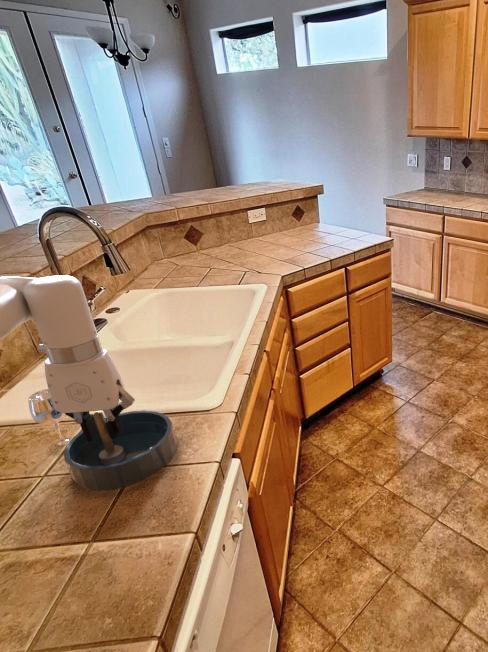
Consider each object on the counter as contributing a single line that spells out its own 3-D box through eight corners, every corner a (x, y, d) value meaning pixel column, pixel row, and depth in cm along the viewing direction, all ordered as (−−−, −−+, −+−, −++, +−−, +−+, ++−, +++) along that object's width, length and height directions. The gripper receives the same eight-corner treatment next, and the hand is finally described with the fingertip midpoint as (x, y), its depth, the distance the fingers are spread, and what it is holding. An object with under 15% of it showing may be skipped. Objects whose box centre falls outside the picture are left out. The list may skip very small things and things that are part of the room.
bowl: (53, 498, 75) (42, 474, 73) (100, 435, 91) (92, 414, 88) (160, 487, 78) (153, 464, 75) (188, 428, 93) (182, 407, 91)
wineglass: (39, 450, 86) (17, 399, 81) (67, 433, 91) (48, 384, 86) (60, 456, 85) (38, 405, 79) (87, 438, 90) (69, 390, 84)
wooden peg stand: (97, 466, 81) (79, 419, 77) (106, 452, 85) (90, 406, 80) (120, 464, 82) (103, 417, 77) (128, 450, 86) (113, 405, 81)
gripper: (6, 362, 69) (45, 452, 77) (117, 356, 71) (144, 444, 79) (34, 342, 75) (68, 427, 83) (135, 337, 78) (158, 420, 86)
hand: (104, 434), depth 81 cm, fingers open, 3 cm apart
